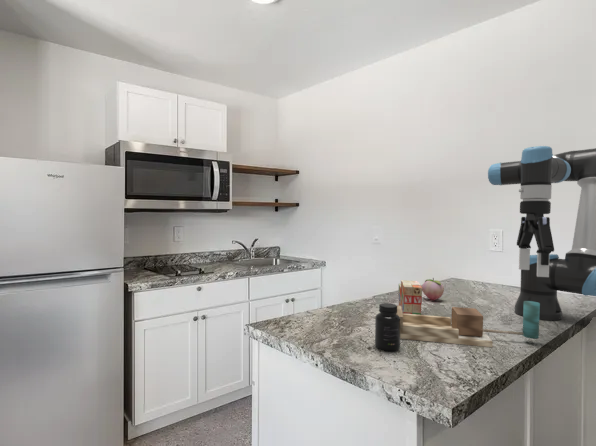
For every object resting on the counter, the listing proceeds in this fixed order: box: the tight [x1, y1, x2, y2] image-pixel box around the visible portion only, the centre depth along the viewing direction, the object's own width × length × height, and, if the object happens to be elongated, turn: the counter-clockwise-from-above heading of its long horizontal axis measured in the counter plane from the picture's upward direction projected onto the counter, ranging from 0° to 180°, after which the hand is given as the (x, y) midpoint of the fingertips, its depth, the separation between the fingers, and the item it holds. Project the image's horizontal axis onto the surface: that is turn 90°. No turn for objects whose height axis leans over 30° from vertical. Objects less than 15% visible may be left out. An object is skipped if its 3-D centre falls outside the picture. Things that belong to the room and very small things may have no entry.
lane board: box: [396, 305, 494, 348], centre depth 112 cm, size 26×14×6 cm, turn 77°
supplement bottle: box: [374, 302, 401, 353], centre depth 100 cm, size 7×7×12 cm
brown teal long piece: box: [451, 301, 540, 340], centre depth 109 cm, size 23×9×10 cm, turn 77°
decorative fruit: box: [421, 277, 445, 301], centre depth 159 cm, size 9×8×10 cm
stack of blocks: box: [398, 279, 423, 315], centre depth 137 cm, size 21×6×12 cm, turn 169°
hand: (532, 273), depth 106 cm, fingers open, 13 cm apart
